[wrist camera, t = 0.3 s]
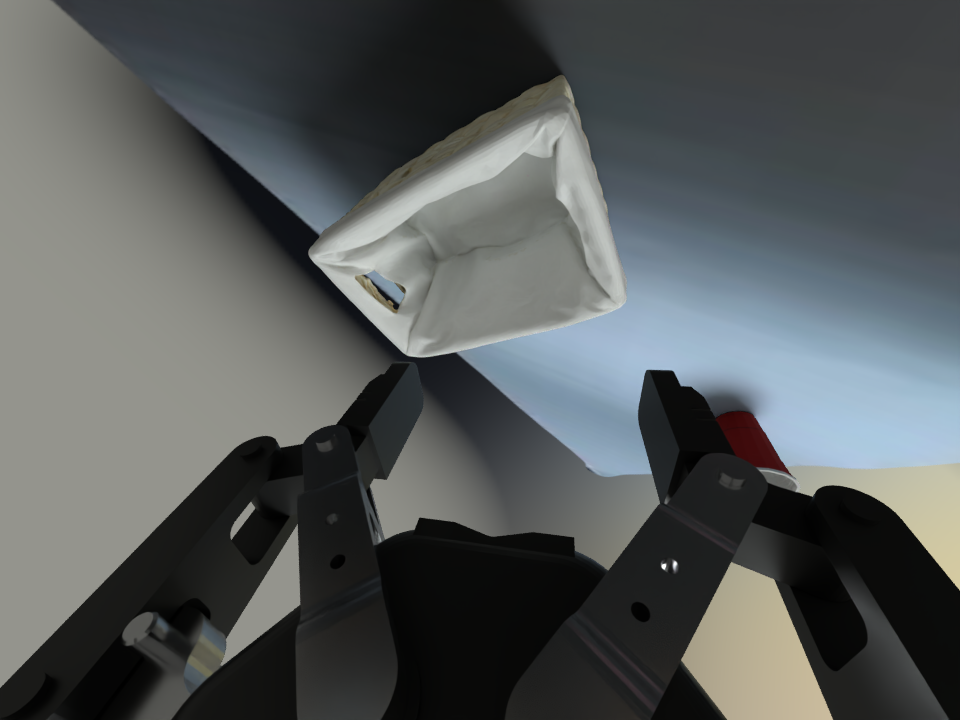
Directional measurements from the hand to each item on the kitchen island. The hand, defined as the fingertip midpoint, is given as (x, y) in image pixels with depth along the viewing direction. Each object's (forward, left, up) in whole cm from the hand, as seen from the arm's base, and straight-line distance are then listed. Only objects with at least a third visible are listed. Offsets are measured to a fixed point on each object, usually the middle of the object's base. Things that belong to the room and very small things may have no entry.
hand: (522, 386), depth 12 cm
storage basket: (+2, -10, -30) cm, 32 cm away
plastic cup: (+57, -3, -30) cm, 64 cm away
